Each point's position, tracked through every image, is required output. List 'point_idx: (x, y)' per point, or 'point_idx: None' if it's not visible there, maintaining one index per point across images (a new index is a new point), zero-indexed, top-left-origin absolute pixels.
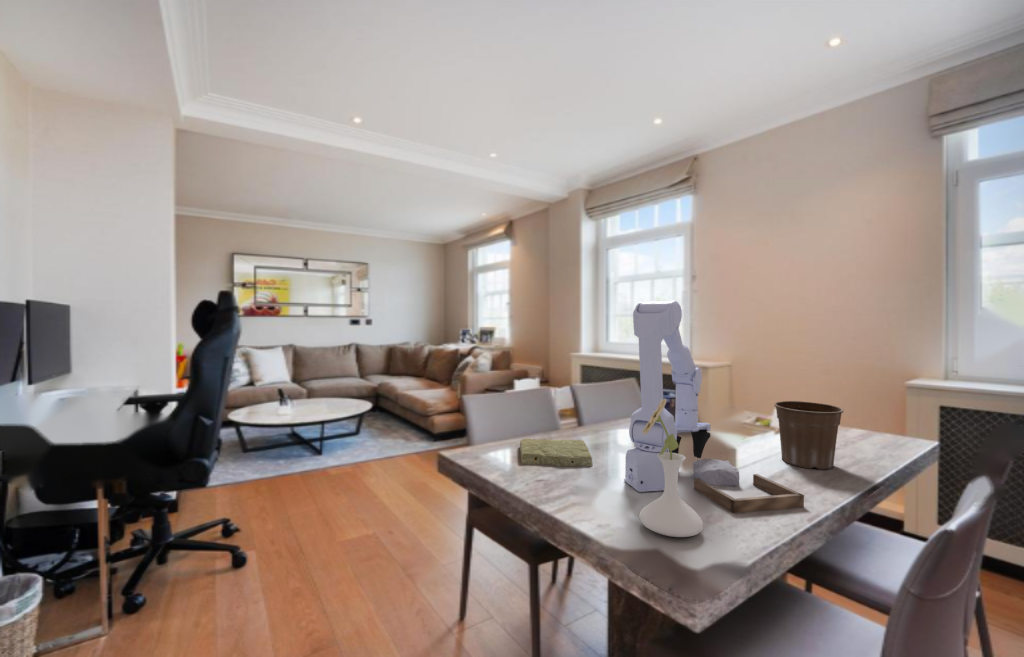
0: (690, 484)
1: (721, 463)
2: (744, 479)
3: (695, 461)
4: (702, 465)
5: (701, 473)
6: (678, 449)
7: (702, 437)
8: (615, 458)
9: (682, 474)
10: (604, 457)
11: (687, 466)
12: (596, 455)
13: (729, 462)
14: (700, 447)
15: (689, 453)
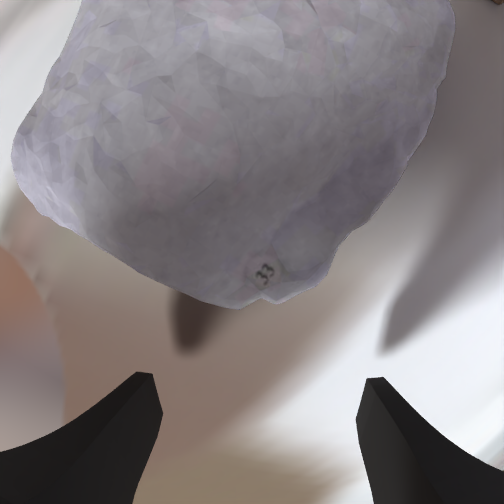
0: (488, 52)
1: (116, 71)
2: None
3: (286, 283)
4: (317, 139)
5: (449, 8)
6: (405, 438)
7: (52, 501)
8: None
9: (431, 216)
10: (488, 464)
11: (264, 350)
12: None
13: (26, 118)
14: (109, 432)
15: None
